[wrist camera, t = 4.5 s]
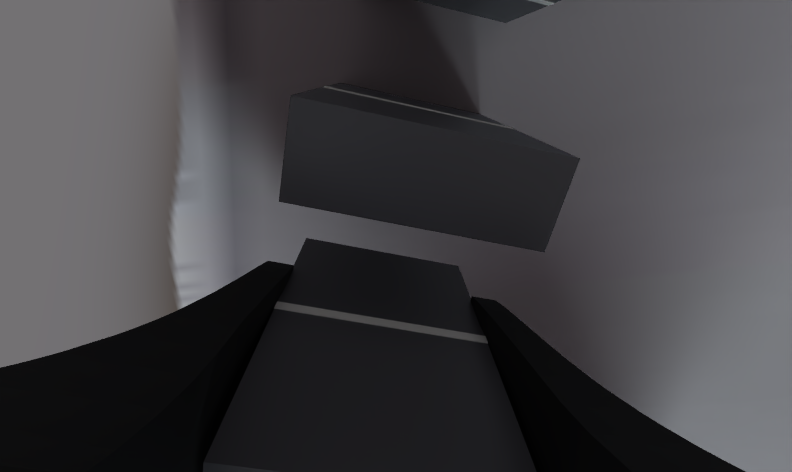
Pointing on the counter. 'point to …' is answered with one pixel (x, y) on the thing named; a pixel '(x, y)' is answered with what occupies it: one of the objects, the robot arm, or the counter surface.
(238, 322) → the robot arm
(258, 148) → the counter surface
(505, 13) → the domino
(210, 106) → the counter surface
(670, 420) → the counter surface
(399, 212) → the domino
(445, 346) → the domino
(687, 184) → the counter surface
